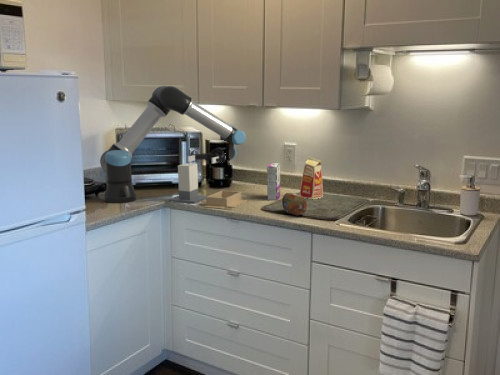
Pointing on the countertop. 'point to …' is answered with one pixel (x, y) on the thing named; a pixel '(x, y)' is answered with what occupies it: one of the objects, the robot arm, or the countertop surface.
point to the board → (192, 201)
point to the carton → (224, 199)
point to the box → (188, 181)
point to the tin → (294, 203)
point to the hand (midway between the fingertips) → (199, 160)
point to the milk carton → (312, 180)
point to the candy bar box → (273, 181)
